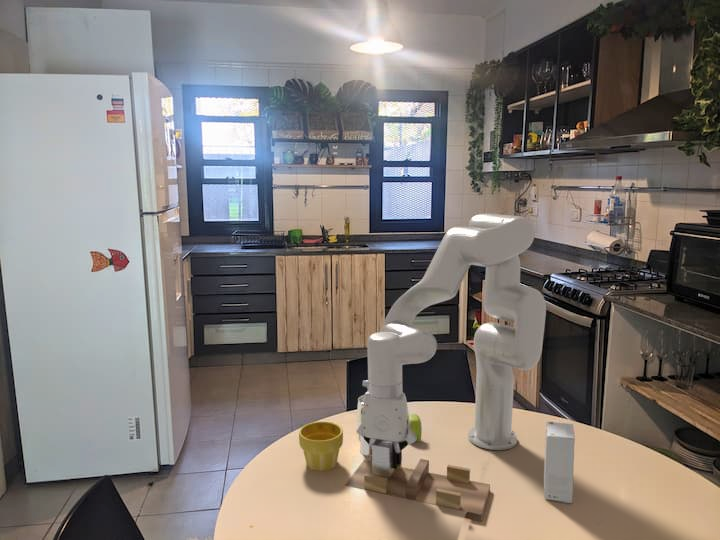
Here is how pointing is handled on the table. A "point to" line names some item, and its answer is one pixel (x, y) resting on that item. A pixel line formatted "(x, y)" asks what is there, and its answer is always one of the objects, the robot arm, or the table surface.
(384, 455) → the grey rectangular block
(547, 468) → the skincare box
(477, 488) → the board
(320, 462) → the plant pot
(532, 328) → the robot arm
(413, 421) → the dumbbell
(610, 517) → the table surface
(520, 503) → the table surface
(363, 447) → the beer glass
